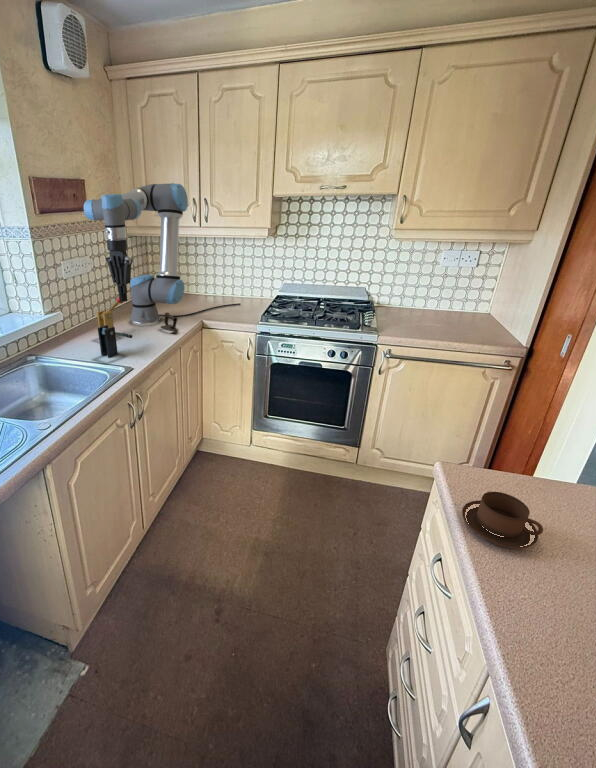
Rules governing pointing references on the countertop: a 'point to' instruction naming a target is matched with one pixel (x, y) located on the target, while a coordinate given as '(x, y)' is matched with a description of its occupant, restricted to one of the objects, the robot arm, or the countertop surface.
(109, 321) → the bracket brass
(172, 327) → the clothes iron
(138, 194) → the robot arm
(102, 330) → the lever grey
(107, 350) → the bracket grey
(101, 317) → the lever brass
